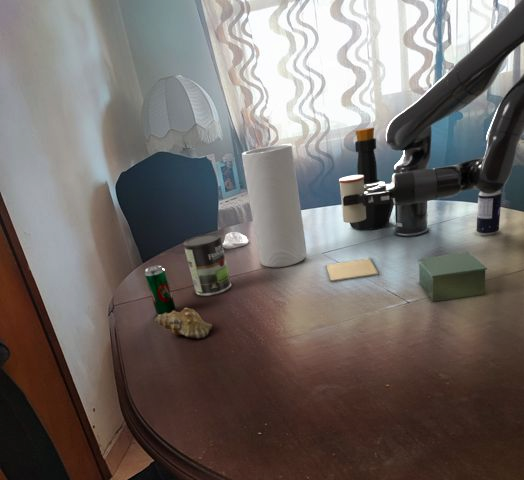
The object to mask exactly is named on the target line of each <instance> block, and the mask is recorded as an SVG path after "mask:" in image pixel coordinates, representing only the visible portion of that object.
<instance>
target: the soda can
mask: <svg viewBox="0 0 524 480" xmlns="http://www.w3.org/2000/svg"><path fill="white" fill-rule="evenodd" d="M144 278H145V281H146V284H147V287H148V291H149V294H150V296H151V301H152V304H153V306H154V309H155V313H156V315H160V314H164V313H171V312H172V311H173V310H174V311H176V308H177V307H176V304H175V302H174V301H175V300H174V297H173V294H172V291H171V286H170V283H169V280H168V277H167V273H166V270H165V268H163V265H161V264H159V265H157V264H156V265H152V266H149V267H147V268H145V270H144Z"/></svg>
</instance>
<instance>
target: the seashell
mask: <svg viewBox="0 0 524 480" xmlns="http://www.w3.org/2000/svg"><path fill="white" fill-rule="evenodd" d="M154 321H155V322H156V323H158V324H159V325H160V326H163V327H164V329H166V330H171V332H172V334H173V335H174V336H178V335H182V336H184V337H186V338H190V339H203V338H206V337H207V336H208V335H209V334H210V331H211V330H212V326H213V325H212V323H208V322H205V321H204V320H203V319H202V317H201V316H200V314H199V313H198V312H197V311H196V310H195V309H193V308H188V307H184V308H183V309H182V310H181V311H176V310H173V311H172V312H171V313H164V314H160V315H159V314H157V316H156V317H155V318H154Z"/></svg>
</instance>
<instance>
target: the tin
mask: <svg viewBox="0 0 524 480" xmlns="http://www.w3.org/2000/svg"><path fill="white" fill-rule="evenodd" d="M417 261H418V263H419V266H418V267H419V269H418V270H419V271H418V273H419V279H418V280H419V281H418V282H419V285H420V287H421V288H422V289H423V291H424V292H425V293H426V295H427V296H428V297H429V298H430V300H431V301H432V302H433V303H434V302H440V301H447V300H456V299H462V298H470V297H476V296H483V295H485V284H486V271H487V270H488V267H487V266H485V265H484V264H483V263H482V262H481V261H480V260H478V259H477V258H476V257H475V256H474V255H473V254H471V253H470V252H469V251H463V252H459V253H458V252H457V253H451V254H443V255H438V256H437V255H436V256H431V257H430V256H429V257H425V258H424V257H423V258H418V259H417Z"/></svg>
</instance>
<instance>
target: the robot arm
mask: <svg viewBox="0 0 524 480" xmlns="http://www.w3.org/2000/svg"><path fill="white" fill-rule="evenodd" d="M523 43H524V0H519V2H518V3H517V4H516V5H515V6H514V7H513V8H512V9H511V10H510V12H508V14H507V15H506V16H505V17H504V18H503V19H502V20H501V21H500V22H499V23H498V24H497V26H496V27H495V28H494V29H493V30H492V31H490V32H489V33H488V34H487V35H486V36H485V37H484V38H483V39H482V40H481V41H480V42H478V44H476V46H475V47H473V49H472V50H470V52H468V53H467V54H466V55H465V56H463V57H462V58H461V59H460V60H459V61H458V62H457V63H455V65H454V66H451V68H450V69H449V70H448V71H447V72H446V73H445V74H444V75H443V76H442V77H441V78H440V79H439V80H437V82H436V83H434V84H433V85H432V86H431V87H430V88H429V89H428V90H427V91H426V92H425V93H424V94H423V95H422V96H421V97H420V98H419V99H418V100H417V101H415V102H414V103H413V104H411V105H410V106H409V107H407V108H406V109H404V110H403V111H402V112H401V113H399V114H397V115H396V116H395V117H394V118H393V119H392V120H391V121H390V122H389V124H388V126H387V128H386V131H385V141H386V144H387V146H388V147H389V148H390V149H391V150H393V151H396V152H403V154H402V156H401V158H400V160H398V162H397V163H396V164H395V165H394V167H393V174H392V176H391V182H390V183H386V184H384V183H385V181H382V180H380V182H376V183H371V184H366V185H364V190H365V191H366V192H363V193H360V194H354V195H348V196H344V197H343V205H344V206H349V205H355V204H359V203H360V205H363V206H368V205H377V204H385V203H386V204H388V203H389V202H390V201H389V199H392V198H393V203H394V210H395V211H394V214H395V234H396V235H397V236H400V237H415V236H420V235H423V234H425V233H427V232H428V230H429V228H428V202H429V201H433V200H434V201H435V200H440V199H446V198H451V197H454V196H457V195H459V194H460V192H464V191H468V190H469V191H470V190H478V191H479V193H480V192H482V193H485V194H492V193H495V192H497V191H499V190H500V191H501V189H503V187H504V186H505V185H506V184H507V182H508V180H509V178H510V176H511V174H512V170H513V167H514V163H515V159H516V156H517V151H518V146H519V143H520V141H521V139H522V137H523V135H524V73H522V75H521V76H520V77H519V78H518V79H517V80H516V82H515V83H514V84H513V85H512V86H511V87H510V89H509V90H508V91H507V92H506V93H505V95H504V96H503V98H502V99H501V101H500V102H499V105H498V106H497V108H496V111H495V113H494V115H493V118H492V121H491V123H490V126H489V128H488V131H487V133H486V137H485V142H486V150H485V154H484V156H483V157H479V158H478V157H477V158H473V159H469V160H466V161H462V162H459V163H456V164H453V165H445V166H439V167H431V168H428V166H429V163H430V161H431V153H432V134H433V131H432V129H433V128H432V126H433V125H434V124H436V123H439V122H440V121H442V120H444V119H446V118H448V117H450V116H451V115H454V114H455V113H458V112H459V111H461V110H462V109H464V108H466V107H468V106H469V105H470V104H471V103H473V102H474V101H475V100H476V99H478V98H479V97H481V96H482V95H483V94H484V93H485V92H487V91H488V90H489V89H490V88H491V86H492V85H493V84H494V82H495V81H496V78H497V77H498V75H499V72H500V71H501V68H502V66H503V64H504V62H505V61H506V59H507V58H508V56H510V54H511V53H512V52H514V51H515V50H517V48H519V46H520V45H522V44H523ZM381 181H382V182H381Z"/></svg>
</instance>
